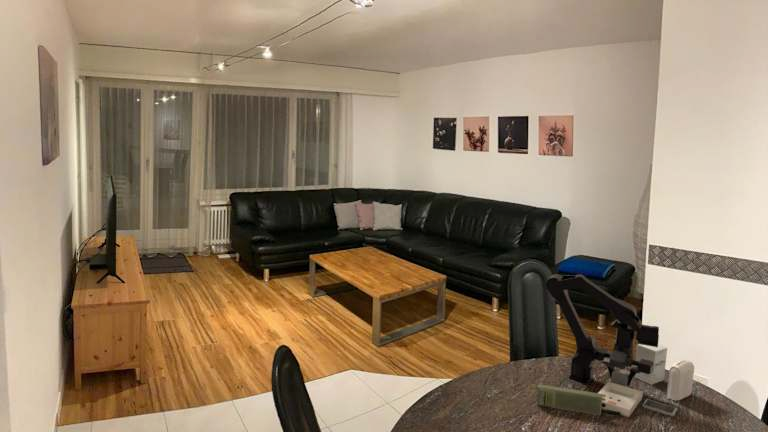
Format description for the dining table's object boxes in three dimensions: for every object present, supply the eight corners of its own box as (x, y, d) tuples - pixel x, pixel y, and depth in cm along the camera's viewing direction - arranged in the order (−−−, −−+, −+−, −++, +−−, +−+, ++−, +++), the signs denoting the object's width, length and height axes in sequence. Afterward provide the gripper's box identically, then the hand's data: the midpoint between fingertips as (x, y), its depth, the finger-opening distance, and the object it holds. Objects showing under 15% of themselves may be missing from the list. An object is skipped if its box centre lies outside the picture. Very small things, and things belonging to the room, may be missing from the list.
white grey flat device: (592, 405, 167) (593, 397, 167) (607, 388, 179) (608, 380, 179) (628, 417, 160) (629, 409, 160) (642, 398, 172) (642, 391, 172)
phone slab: (673, 416, 161) (673, 414, 161) (642, 406, 167) (642, 404, 167) (676, 410, 165) (677, 407, 165) (646, 401, 171) (646, 398, 171)
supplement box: (652, 385, 182) (655, 351, 180) (633, 377, 188) (636, 344, 187) (664, 380, 186) (668, 347, 184) (645, 372, 192) (648, 340, 190)
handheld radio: (536, 401, 170) (619, 415, 162) (536, 406, 167) (620, 420, 159) (538, 382, 169) (621, 395, 161) (537, 387, 166) (622, 400, 158)
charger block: (610, 387, 180) (612, 372, 179) (614, 382, 184) (616, 367, 183) (625, 391, 177) (627, 376, 176) (629, 386, 181) (631, 371, 180)
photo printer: (680, 389, 179) (684, 355, 178) (693, 394, 176) (697, 360, 174) (664, 397, 174) (668, 362, 172) (677, 402, 170) (681, 367, 168)
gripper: (589, 340, 178) (585, 383, 180) (648, 355, 166) (643, 401, 168) (599, 331, 186) (596, 372, 189) (656, 345, 175) (652, 388, 177)
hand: (620, 383), depth 180 cm, fingers closed on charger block, 5 cm apart
